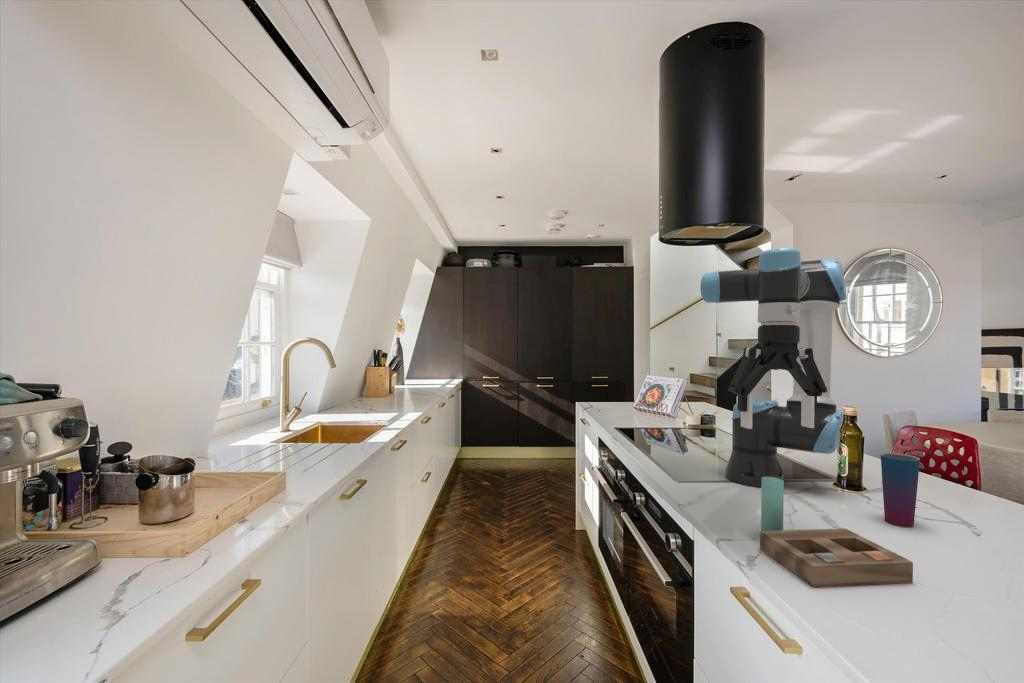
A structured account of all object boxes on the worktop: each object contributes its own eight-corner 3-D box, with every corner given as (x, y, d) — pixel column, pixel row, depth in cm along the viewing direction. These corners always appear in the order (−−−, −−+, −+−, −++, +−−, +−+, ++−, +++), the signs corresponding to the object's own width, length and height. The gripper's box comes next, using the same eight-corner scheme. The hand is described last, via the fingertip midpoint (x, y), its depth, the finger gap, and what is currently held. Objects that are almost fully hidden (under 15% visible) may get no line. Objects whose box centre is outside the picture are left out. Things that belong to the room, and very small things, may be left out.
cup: (926, 530, 100) (927, 461, 100) (890, 527, 101) (891, 459, 101) (906, 518, 107) (907, 453, 107) (873, 516, 108) (874, 451, 108)
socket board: (759, 549, 90) (760, 529, 90) (845, 545, 92) (845, 526, 92) (813, 587, 76) (813, 564, 76) (912, 582, 78) (912, 560, 78)
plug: (756, 533, 97) (757, 476, 97) (774, 532, 98) (775, 476, 98) (769, 541, 93) (769, 482, 93) (787, 541, 94) (788, 482, 94)
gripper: (732, 322, 90) (731, 431, 90) (848, 324, 93) (847, 430, 93) (711, 324, 98) (710, 424, 98) (819, 326, 100) (818, 423, 100)
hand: (777, 427), depth 95 cm, fingers open, 13 cm apart
